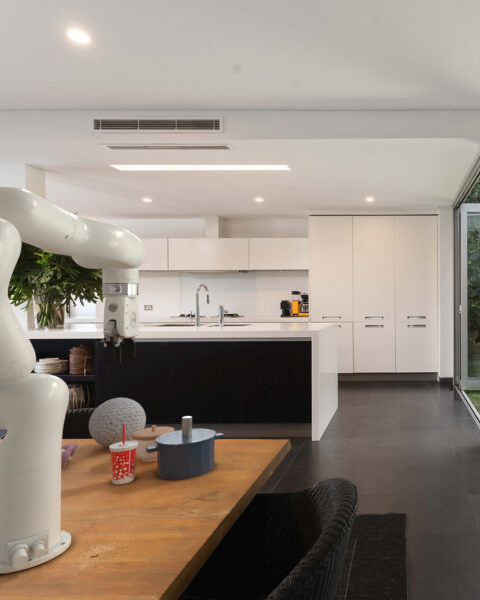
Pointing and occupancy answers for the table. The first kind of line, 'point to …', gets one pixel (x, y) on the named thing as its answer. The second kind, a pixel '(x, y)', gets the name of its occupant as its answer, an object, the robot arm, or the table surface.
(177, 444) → the lid
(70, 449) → the video game controller
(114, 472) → the beverage cup
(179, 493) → the table surface
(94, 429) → the decorative ball
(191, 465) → the pot
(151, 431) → the trinket box
